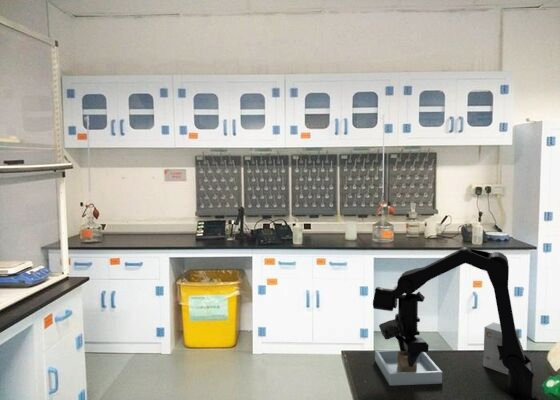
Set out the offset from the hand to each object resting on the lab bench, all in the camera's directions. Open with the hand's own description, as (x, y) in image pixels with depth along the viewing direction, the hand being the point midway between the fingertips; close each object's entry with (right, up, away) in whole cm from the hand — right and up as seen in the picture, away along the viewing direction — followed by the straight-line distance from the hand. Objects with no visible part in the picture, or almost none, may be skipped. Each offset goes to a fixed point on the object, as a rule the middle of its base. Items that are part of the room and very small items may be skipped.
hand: (407, 361), depth 137 cm
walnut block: (0, -3, 0) cm, 3 cm away
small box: (+30, -3, +2) cm, 30 cm away
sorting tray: (0, -3, 0) cm, 3 cm away
